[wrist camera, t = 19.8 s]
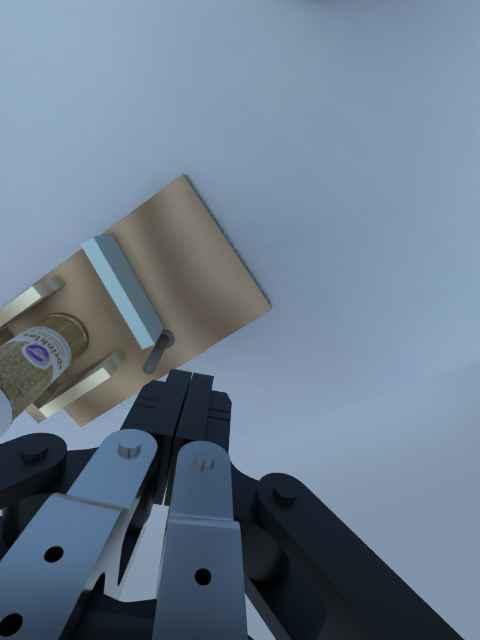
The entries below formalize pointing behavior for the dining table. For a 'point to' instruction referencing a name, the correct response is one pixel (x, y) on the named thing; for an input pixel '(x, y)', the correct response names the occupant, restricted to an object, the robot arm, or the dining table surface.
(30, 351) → the sprinkles bottle
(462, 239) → the dining table surface
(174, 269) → the socket board
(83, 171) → the dining table surface
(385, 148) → the dining table surface
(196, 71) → the dining table surface
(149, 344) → the bar
